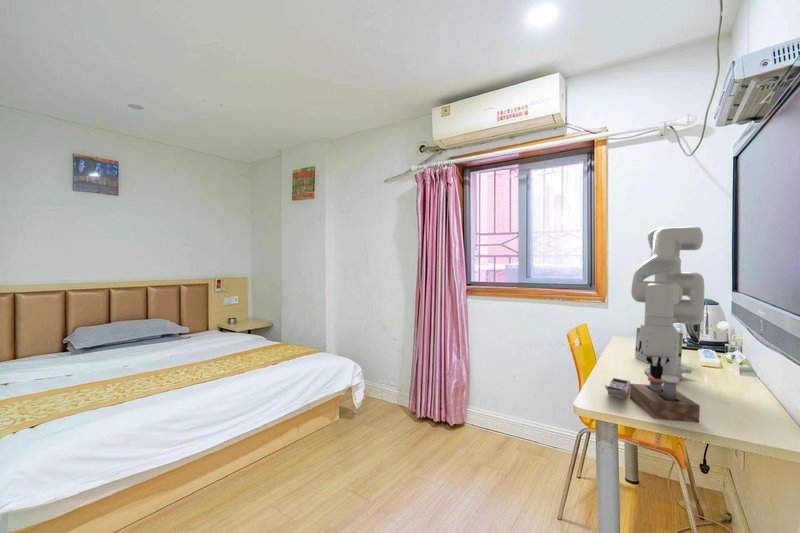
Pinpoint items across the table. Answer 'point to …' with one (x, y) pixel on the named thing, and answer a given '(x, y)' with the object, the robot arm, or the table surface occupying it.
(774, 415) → the table surface
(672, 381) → the white light bulb
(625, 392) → the mobile phone
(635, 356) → the tea box
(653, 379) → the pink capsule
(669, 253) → the robot arm
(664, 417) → the block
